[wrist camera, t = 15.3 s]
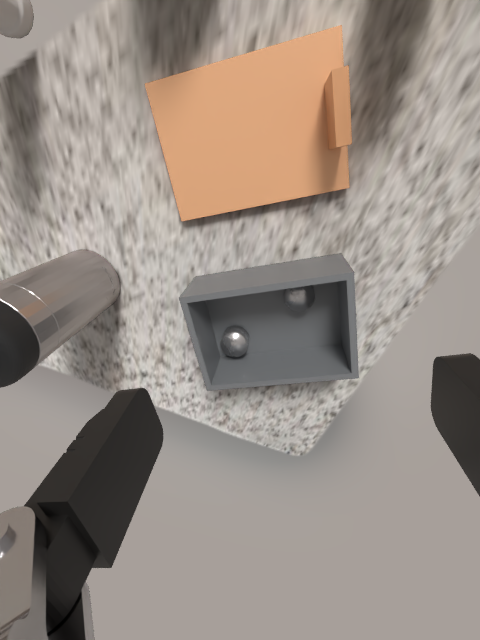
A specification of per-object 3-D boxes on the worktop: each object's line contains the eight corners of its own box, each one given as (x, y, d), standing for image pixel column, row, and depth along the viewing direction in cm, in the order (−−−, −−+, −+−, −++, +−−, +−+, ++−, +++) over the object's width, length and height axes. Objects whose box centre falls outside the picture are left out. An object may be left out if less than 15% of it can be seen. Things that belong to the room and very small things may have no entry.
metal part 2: (285, 305, 43) (285, 312, 41) (281, 278, 42) (281, 285, 40) (314, 301, 43) (316, 309, 40) (311, 274, 41) (313, 280, 39)
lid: (185, 219, 41) (167, 228, 35) (150, 87, 35) (121, 69, 29) (346, 187, 37) (360, 191, 31) (338, 31, 31) (353, -4, 25)
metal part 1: (238, 352, 48) (236, 361, 46) (217, 337, 47) (214, 345, 45) (254, 336, 46) (253, 344, 44) (233, 320, 45) (231, 328, 43)
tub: (217, 358, 50) (206, 390, 43) (195, 276, 44) (178, 297, 37) (346, 345, 46) (358, 378, 39) (341, 253, 40) (354, 272, 33)
